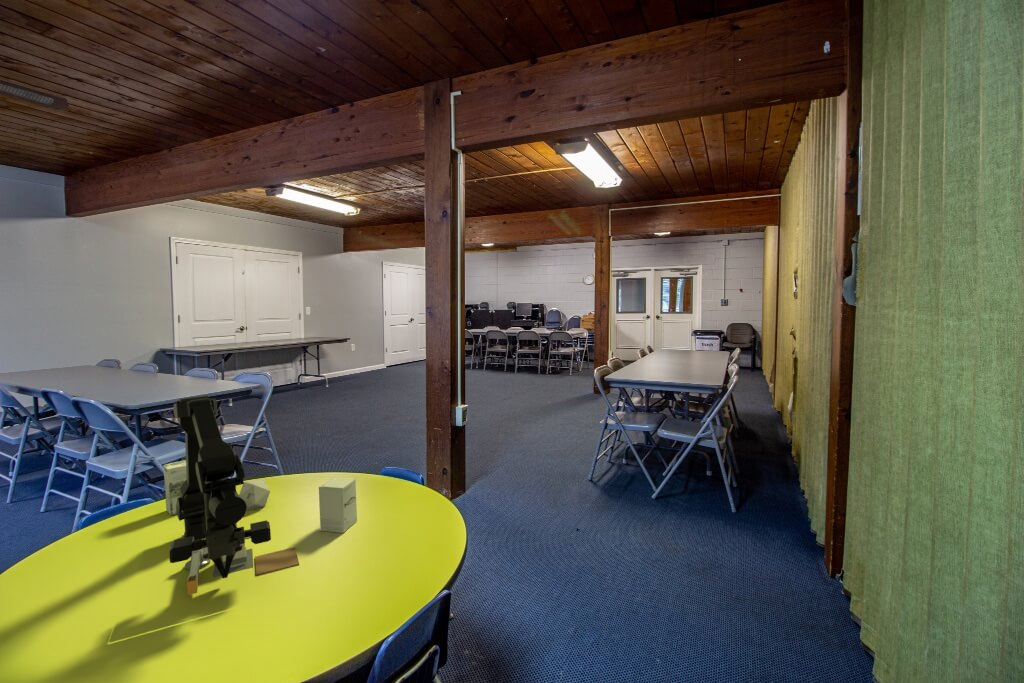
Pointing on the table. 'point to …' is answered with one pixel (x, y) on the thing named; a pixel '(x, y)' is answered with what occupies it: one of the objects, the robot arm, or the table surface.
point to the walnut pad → (276, 561)
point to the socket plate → (241, 567)
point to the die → (255, 493)
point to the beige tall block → (238, 557)
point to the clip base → (202, 564)
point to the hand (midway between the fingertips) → (225, 577)
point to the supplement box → (337, 504)
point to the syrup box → (173, 483)
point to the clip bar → (194, 571)
